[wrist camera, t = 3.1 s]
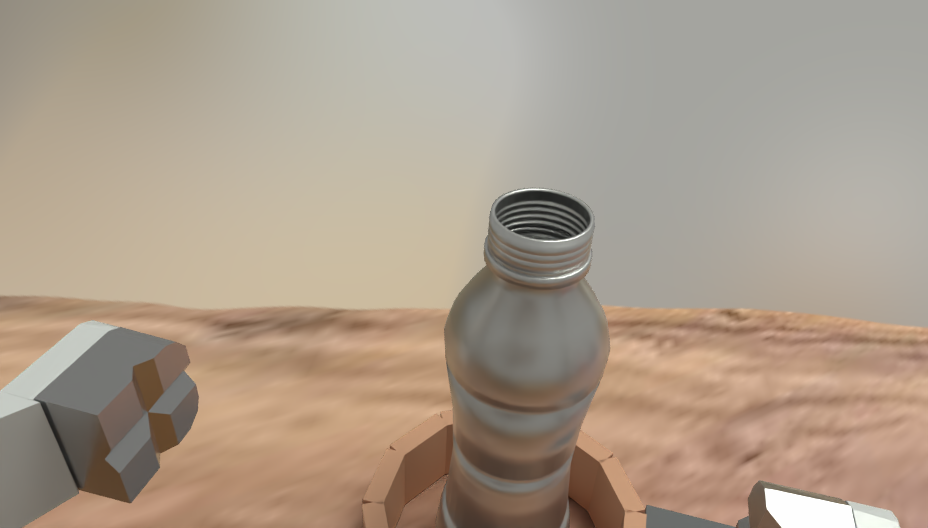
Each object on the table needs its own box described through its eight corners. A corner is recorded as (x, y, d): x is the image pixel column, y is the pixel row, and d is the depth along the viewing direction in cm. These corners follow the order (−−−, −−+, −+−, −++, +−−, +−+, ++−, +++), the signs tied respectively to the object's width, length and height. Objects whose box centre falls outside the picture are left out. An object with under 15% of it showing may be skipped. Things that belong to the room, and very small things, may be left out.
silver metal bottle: (569, 515, 37) (642, 182, 26) (553, 639, 31) (635, 286, 20) (452, 488, 38) (473, 157, 27) (417, 603, 33) (423, 249, 21)
